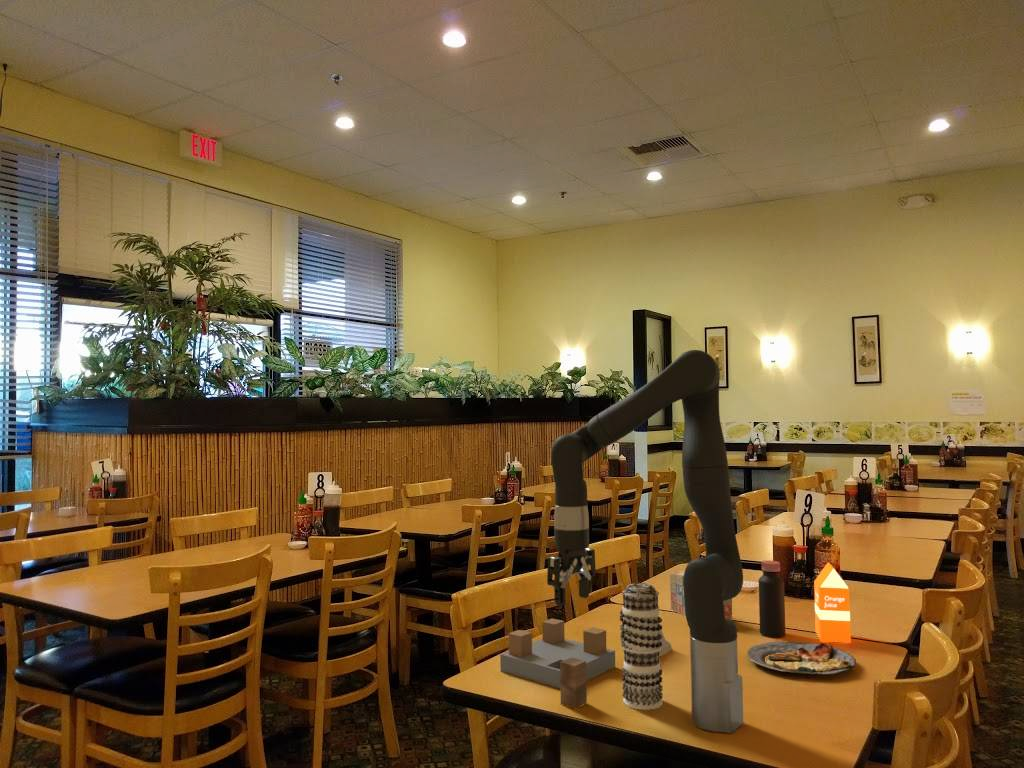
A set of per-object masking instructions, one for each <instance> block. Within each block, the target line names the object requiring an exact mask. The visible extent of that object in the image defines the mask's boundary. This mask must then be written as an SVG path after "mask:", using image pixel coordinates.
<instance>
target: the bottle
mask: <svg viewBox="0 0 1024 768" xmlns="http://www.w3.org/2000/svg"><path fill="white" fill-rule="evenodd" d="M761 571H762V575H761V576H760V577H759V578H758V607H759V608H758V610H759V612H758V613H759V634H761V635H762V636H764V637H768V638H774V637H775V638H777V639H778V638H783V637H785V636H786V607H785V605H786V604H785V603H786V602H785V581H784V579H783V578H782V577H781V576H780V573H781V562H780V561H776V560H763V561H761Z"/></svg>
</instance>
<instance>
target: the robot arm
mask: <svg viewBox="0 0 1024 768" xmlns="http://www.w3.org/2000/svg"><path fill="white" fill-rule="evenodd" d="M720 375H721V374H720V367H719V365H718V363H717V361H716V360H715V359H714V358H713V357H712V356H711V354H709V353H707V352H706V351H703V350H700V349H689V350H687V351H685V352H683V353H681V354H680V355H679V356H678V357H677V358H675V360H673V362H671V363H670V364H669V365H668V366H667V367H665V369H663V370H662V371H661V372H660V373H659V374H657V375H656V376H655V377H654V378H652V379H651V380H650V381H648V382H647V383H646V384H644V385H643V386H641V387H640V388H639V389H637V390H635V391H634V392H632V393H630V394H629V395H627V396H625V397H624V398H622V399H620V400H619V401H617V402H615V403H614V404H612V405H610V406H609V407H607V408H606V409H604V410H602V411H600V412H599V413H598V414H596V415H595V416H593V417H592V418H591V419H590V420H589V421H588V422H587V423H586V424H584V425H583V426H581V427H580V428H578V429H576V430H574V431H573V432H571V433H569V434H563V435H560V436H559V437H557V438H556V439H555V440H554V441H553V444H552V446H551V452H550V454H551V455H550V458H551V468H552V469H551V470H552V473H553V478H554V479H553V480H554V484H555V485H554V503H555V504H554V513H553V514H554V516H553V520H554V522H553V526H554V527H553V529H554V530H553V532H554V533H553V536H554V538H553V539H554V542H553V543H554V545H553V546H554V548H556V549H557V551H558V552H557V556H548V557H547V572H546V573H547V574H546V575H547V578H546V584H547V585H548V586H550V587H551V586H552V587H553V588H554V590H553V591H554V592H553V593H554V604H555V605H556V606H559V607H560V606H562V607H563V606H565V605H566V584H567V582H568V581H569V580H570V579H571V576H572V575H574V574H575V573H576V574H577V576H578V578H579V579H578V596H579V598H584V599H587V598H589V597H590V581H591V579H592V576H593V577H595V576H596V575H597V572H596V571H597V569H596V551H595V549H594V548H589V547H590V521H589V520H590V518H589V517H590V515H589V509H588V487H587V482H586V480H585V479H584V466H583V463H585V462H586V461H588V460H589V459H591V458H593V456H595V455H596V454H597V453H599V452H601V450H603V449H604V448H606V447H608V446H610V445H612V444H615V443H616V442H617V441H620V440H621V439H623V438H624V437H626V436H627V435H629V434H630V433H632V432H634V431H635V430H636V429H638V428H639V427H641V426H642V425H643V424H644V423H646V422H648V420H649V419H650V418H652V417H653V416H654V415H656V414H658V412H660V411H661V410H663V409H665V408H667V407H668V406H670V405H672V404H674V403H676V402H678V401H680V400H681V405H682V409H683V411H682V412H683V417H684V418H683V419H684V424H683V425H684V426H683V427H684V428H683V439H682V448H681V449H682V451H681V465H682V466H681V467H682V478H683V479H682V480H683V487H684V488H683V489H684V492H685V496H686V498H687V501H688V503H689V505H690V506H691V509H692V510H693V511H694V514H695V515H696V517H697V519H698V521H699V523H700V525H701V528H702V531H703V532H702V533H703V537H704V545H705V556H702V557H697V558H695V559H692V560H691V561H689V562H688V563H687V565H686V567H685V569H684V571H685V572H684V579H683V587H684V601H685V615H686V617H685V619H686V622H687V625H688V627H689V640H690V641H689V646H690V647H689V648H690V649H689V651H690V690H691V695H690V696H691V721H692V723H693V725H695V726H696V727H697V728H700V729H701V730H705V731H709V732H715V733H726V734H732V733H733V732H735V731H736V730H737V729H738V728H740V727H741V726H743V725H744V704H743V703H744V699H743V696H744V693H743V692H744V691H743V689H744V687H743V677H742V676H743V675H740V674H739V667H738V666H739V665H738V664H739V663H738V661H739V659H738V658H739V657H738V627H737V624H736V623H735V621H733V619H732V620H730V619H727V618H725V615H724V604H723V601H725V600H729V599H732V600H733V599H734V598H735V597H737V596H738V595H739V594H740V593H741V591H742V589H743V585H744V573H743V572H744V571H743V565H742V561H741V556H740V552H739V551H740V550H739V546H738V542H737V535H736V530H735V529H736V528H735V522H734V514H733V504H732V497H731V496H732V495H731V481H730V471H729V470H730V469H729V462H728V453H727V448H726V443H725V438H724V433H723V429H722V423H721V418H720V379H721V377H720ZM589 566H590V568H589ZM553 576H554V578H553ZM560 579H561V580H560Z"/></svg>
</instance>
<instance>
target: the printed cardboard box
mask: <svg viewBox="0 0 1024 768" xmlns="http://www.w3.org/2000/svg"><path fill="white" fill-rule="evenodd" d="M684 572H685V570H680V571H679V570H678V571H671V572H669V584H670V585H669V586H670V611H671V610H673V611H675V612H677V613H680V614H682V615H681V616H683V615H685V601H684V587H683V579H684ZM723 604H724V615H725V618H727V619H730V620H732V621H733V598H732V599H729V600H725V601H723ZM673 611H672V612H673ZM675 612H674V613H675ZM677 613H676V614H677ZM680 614H679V615H680ZM685 616H686V615H685ZM685 616H684V617H685Z"/></svg>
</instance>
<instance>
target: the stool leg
mask: <svg viewBox="0 0 1024 768" xmlns="http://www.w3.org/2000/svg"><path fill="white" fill-rule="evenodd" d="M560 687H561V689H560V705H562V704H564V705H563V706H565V705H568V706H570V707H569V708H571V707H573V708H572V709H574V708H577V707H579V706H580V707H582V706H584V705H586V704H587V703H588V700H587V699H588V698H587V691H588V690H587V681H586V661H584V660H580V659H576V658H572V657H571V658H568V659H566V660H564V661H561V662H560ZM586 702H587V703H586ZM585 703H586V704H585ZM583 704H584V705H583ZM581 705H582V706H581ZM568 706H567V707H568ZM580 707H579V708H580ZM577 709H578V708H577Z"/></svg>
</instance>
